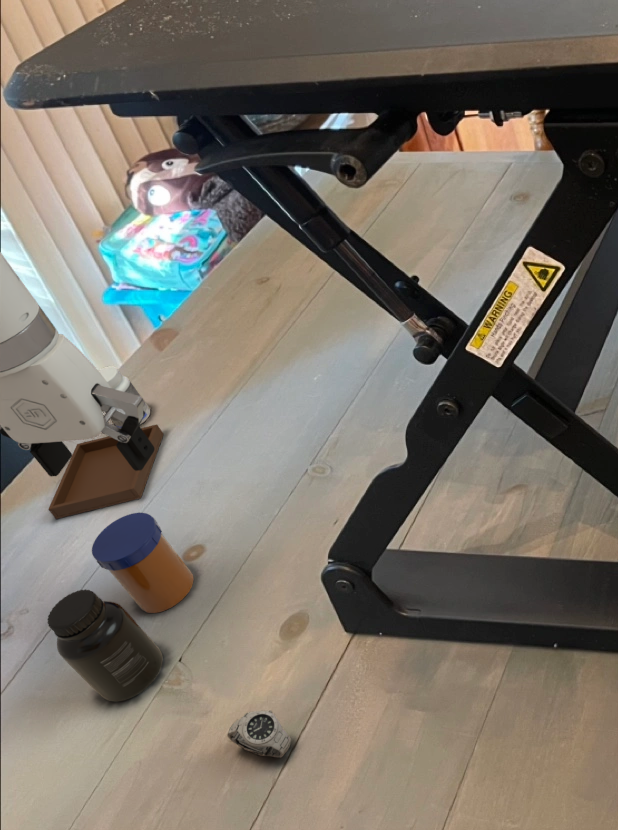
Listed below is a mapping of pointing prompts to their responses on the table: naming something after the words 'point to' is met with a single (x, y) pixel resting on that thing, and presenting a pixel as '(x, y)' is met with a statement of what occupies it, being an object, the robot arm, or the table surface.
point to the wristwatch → (260, 734)
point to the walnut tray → (101, 476)
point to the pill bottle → (121, 388)
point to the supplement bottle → (104, 645)
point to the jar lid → (126, 541)
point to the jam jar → (157, 579)
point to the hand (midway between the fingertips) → (103, 463)
